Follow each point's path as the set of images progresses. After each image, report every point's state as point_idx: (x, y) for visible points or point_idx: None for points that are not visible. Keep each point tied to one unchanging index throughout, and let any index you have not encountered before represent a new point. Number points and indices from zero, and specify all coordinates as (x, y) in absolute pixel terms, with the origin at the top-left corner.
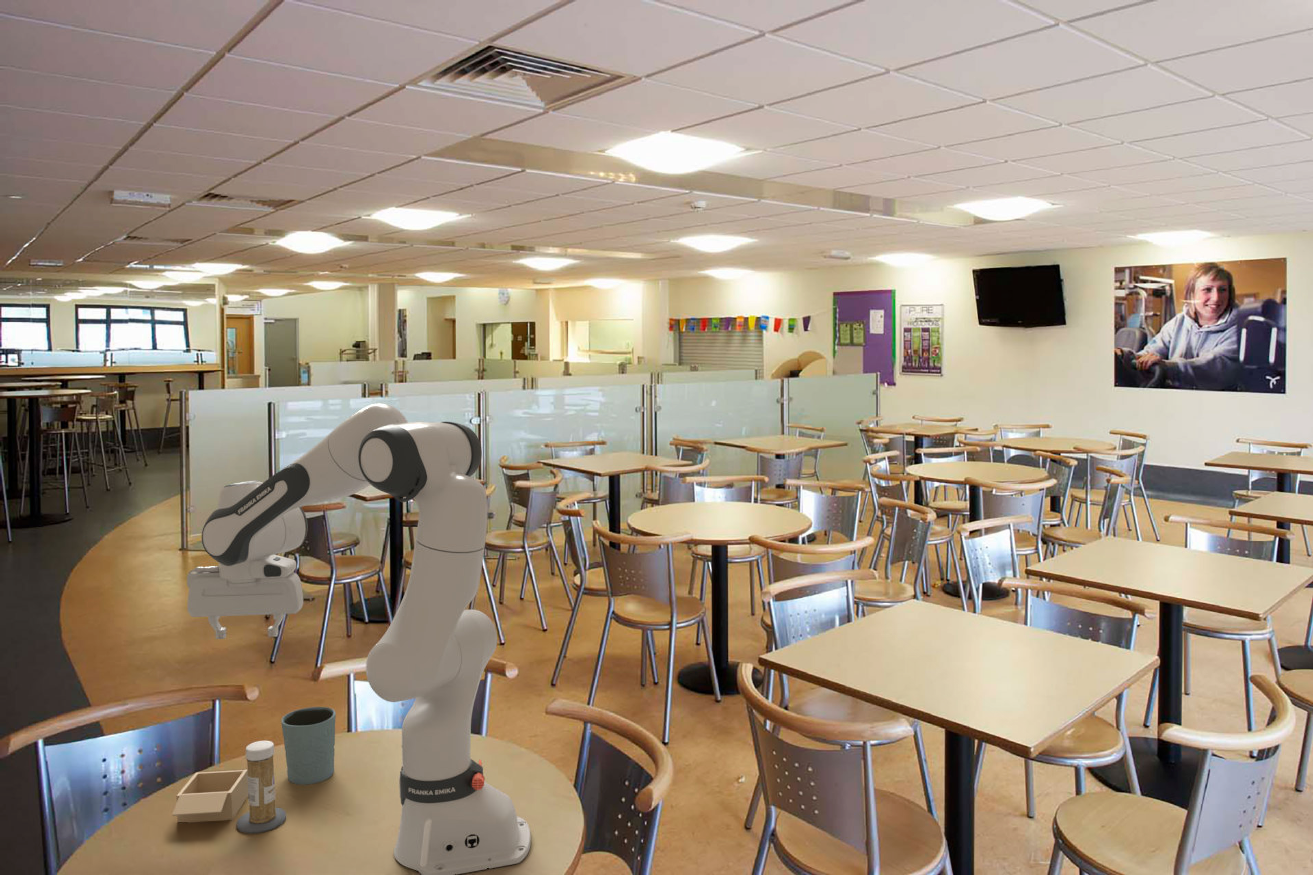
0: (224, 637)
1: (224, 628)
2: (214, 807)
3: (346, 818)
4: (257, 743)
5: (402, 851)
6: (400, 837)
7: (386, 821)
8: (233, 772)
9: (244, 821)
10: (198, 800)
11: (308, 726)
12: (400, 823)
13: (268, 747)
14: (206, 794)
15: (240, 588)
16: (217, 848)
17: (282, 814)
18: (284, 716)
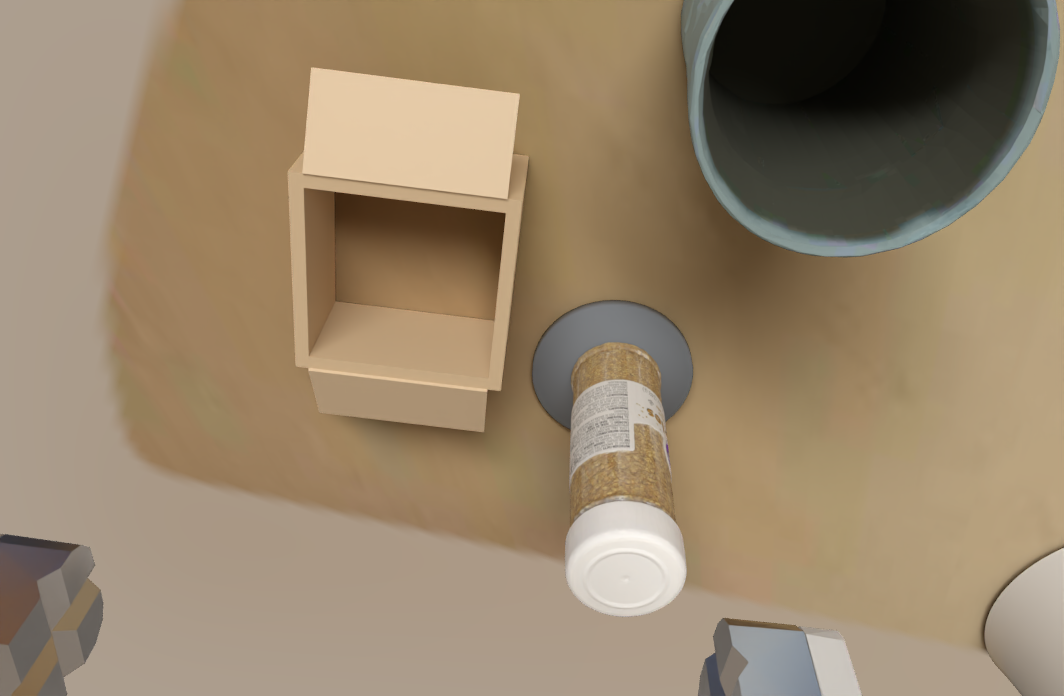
0: (95, 605)
1: (9, 682)
2: (456, 419)
3: (891, 416)
4: (612, 560)
5: (1009, 676)
6: (1022, 682)
7: (1013, 463)
8: (462, 207)
9: (557, 380)
10: (389, 395)
11: (852, 253)
12: (1043, 688)
13: (666, 603)
14: (409, 383)
15: None
16: (504, 480)
17: (680, 368)
18: (707, 48)
